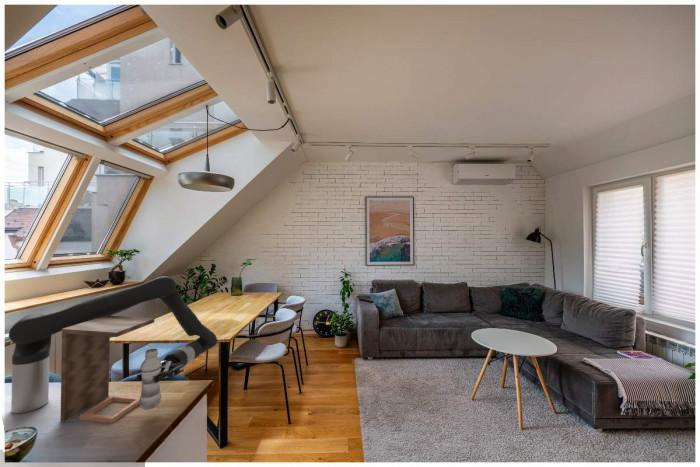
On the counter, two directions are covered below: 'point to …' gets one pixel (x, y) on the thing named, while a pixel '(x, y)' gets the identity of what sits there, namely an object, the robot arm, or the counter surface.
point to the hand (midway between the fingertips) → (146, 379)
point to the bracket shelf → (90, 360)
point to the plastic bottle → (150, 380)
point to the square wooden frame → (105, 418)
